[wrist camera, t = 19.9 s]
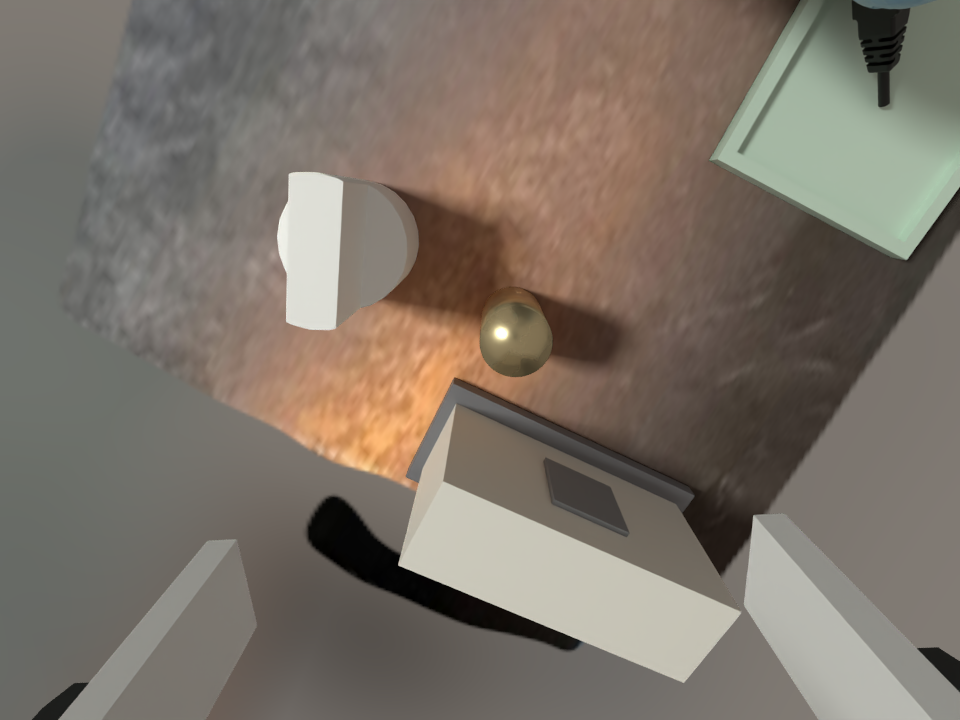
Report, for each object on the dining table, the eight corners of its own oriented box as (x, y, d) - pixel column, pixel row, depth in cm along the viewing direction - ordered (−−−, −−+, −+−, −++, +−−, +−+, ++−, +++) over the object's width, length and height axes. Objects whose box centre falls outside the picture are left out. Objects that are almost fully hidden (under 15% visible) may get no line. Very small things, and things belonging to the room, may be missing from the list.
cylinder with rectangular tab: (309, 171, 39) (234, 160, 28) (424, 188, 39) (397, 183, 28) (305, 286, 42) (236, 319, 30) (413, 301, 42) (385, 340, 31)
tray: (880, -141, 33) (898, -157, 31) (1084, -12, 34) (1109, -21, 33) (709, 160, 38) (717, 159, 37) (891, 257, 40) (906, 260, 39)
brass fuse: (480, 287, 42) (478, 307, 34) (541, 285, 41) (553, 305, 34) (482, 346, 43) (480, 377, 35) (541, 344, 43) (552, 376, 35)
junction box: (408, 468, 47) (375, 576, 33) (454, 377, 44) (438, 455, 31) (631, 566, 50) (684, 701, 36) (688, 486, 47) (767, 601, 33)
